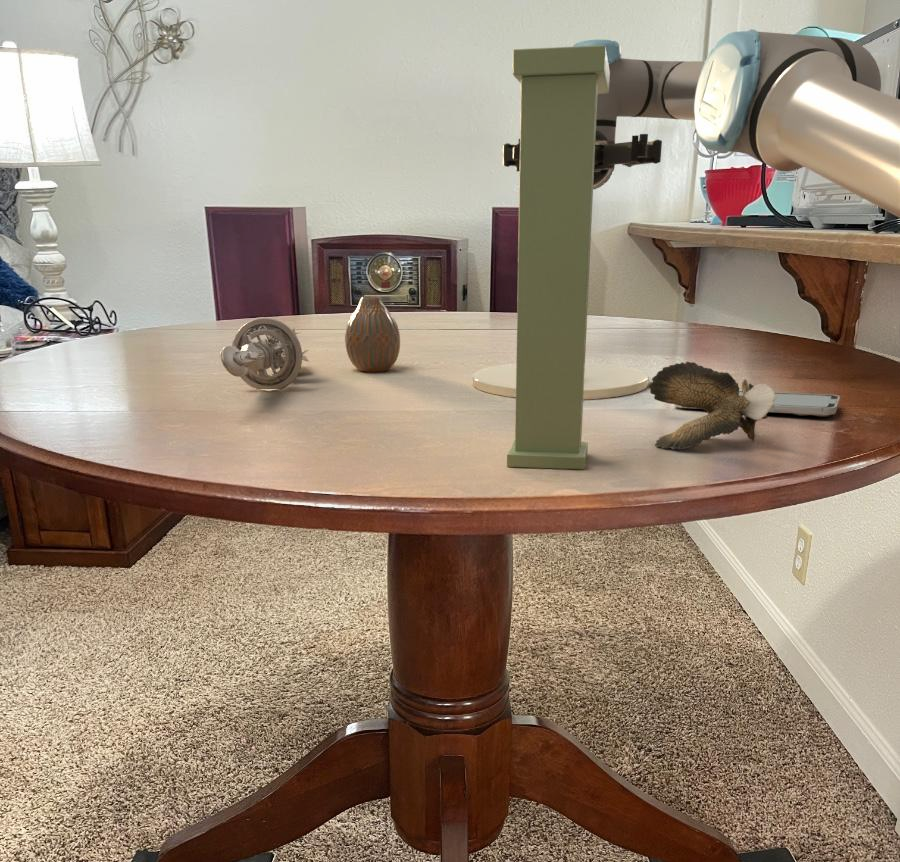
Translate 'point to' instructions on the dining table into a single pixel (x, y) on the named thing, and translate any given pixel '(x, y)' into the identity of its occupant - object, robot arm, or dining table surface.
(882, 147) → the robot arm
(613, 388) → the plate
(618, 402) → the dining table surface
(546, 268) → the stand
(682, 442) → the eagle figurine
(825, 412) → the smartphone
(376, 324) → the vase
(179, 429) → the dining table surface
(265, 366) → the spaceship
